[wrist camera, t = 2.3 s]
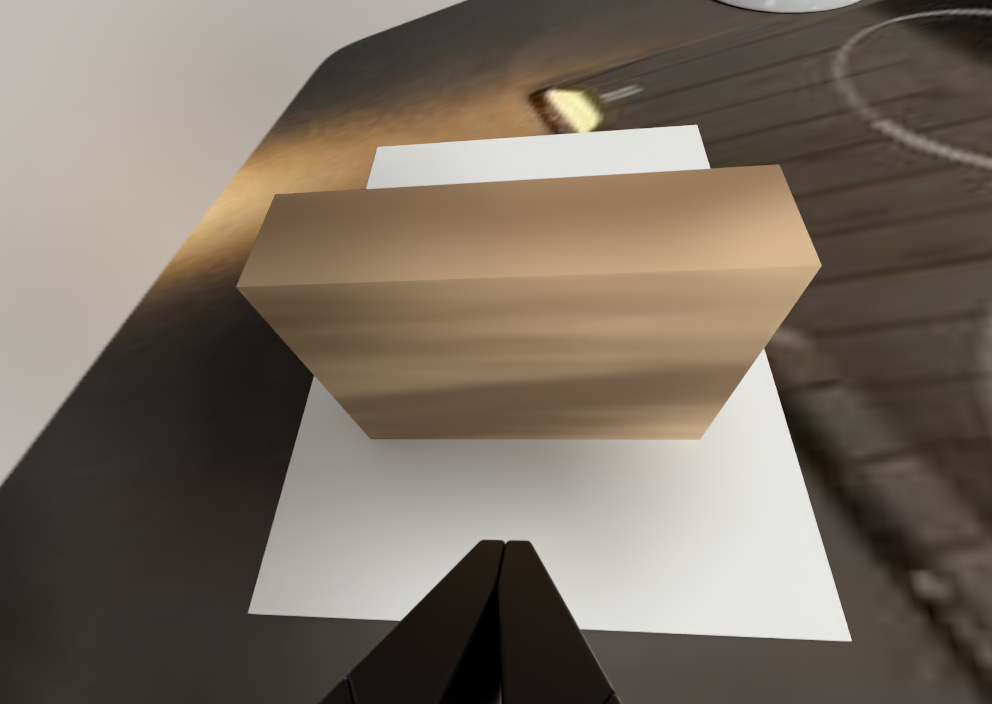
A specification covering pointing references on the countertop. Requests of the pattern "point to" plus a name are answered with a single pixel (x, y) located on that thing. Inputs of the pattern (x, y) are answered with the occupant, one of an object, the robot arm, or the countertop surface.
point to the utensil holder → (790, 5)
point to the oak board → (534, 300)
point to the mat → (558, 477)
